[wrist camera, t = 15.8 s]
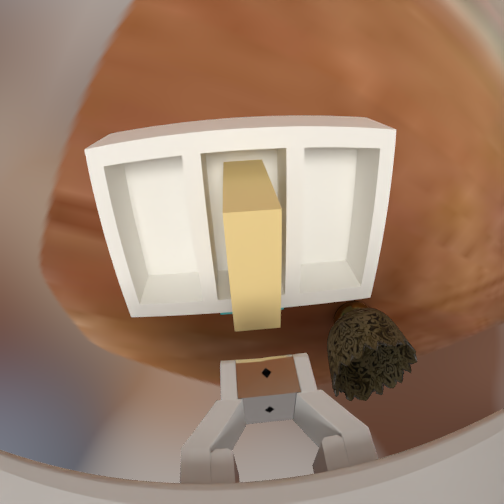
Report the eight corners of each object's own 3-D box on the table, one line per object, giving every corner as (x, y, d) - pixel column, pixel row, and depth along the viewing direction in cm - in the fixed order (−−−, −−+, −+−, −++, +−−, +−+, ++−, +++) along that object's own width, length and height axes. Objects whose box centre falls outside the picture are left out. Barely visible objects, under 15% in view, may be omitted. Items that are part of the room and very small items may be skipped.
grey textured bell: (396, 305, 30) (429, 363, 23) (343, 347, 32) (364, 408, 26) (356, 268, 27) (392, 333, 20) (297, 319, 29) (314, 389, 23)
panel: (261, 159, 20) (281, 209, 13) (264, 250, 24) (280, 327, 17) (223, 162, 20) (222, 213, 13) (231, 253, 24) (234, 331, 17)
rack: (366, 117, 20) (396, 129, 16) (350, 269, 27) (369, 302, 23) (110, 133, 19) (84, 149, 15) (144, 285, 26) (133, 322, 22)
